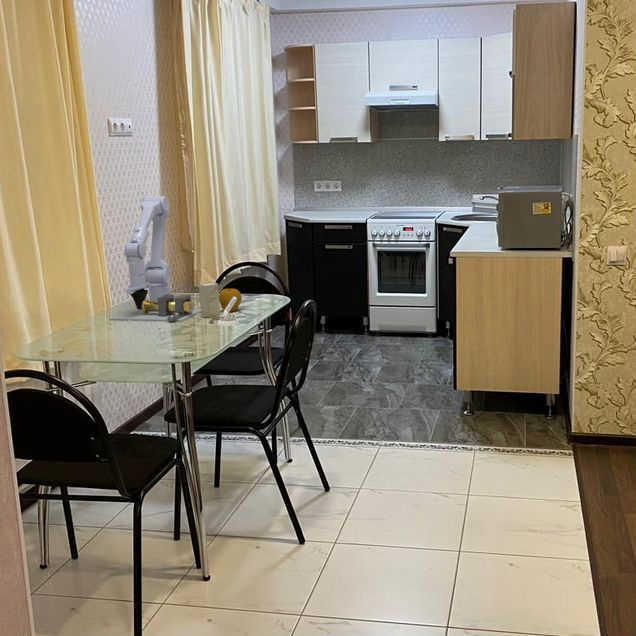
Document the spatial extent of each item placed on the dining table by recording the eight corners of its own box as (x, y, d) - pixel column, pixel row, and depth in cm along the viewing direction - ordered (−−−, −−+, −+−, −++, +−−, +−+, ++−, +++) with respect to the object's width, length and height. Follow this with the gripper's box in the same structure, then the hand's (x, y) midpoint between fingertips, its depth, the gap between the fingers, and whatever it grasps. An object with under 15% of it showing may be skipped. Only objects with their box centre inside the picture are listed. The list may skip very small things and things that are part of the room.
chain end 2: (184, 312, 315) (183, 294, 313) (191, 312, 314) (190, 294, 312) (166, 320, 301) (165, 302, 299) (174, 321, 300) (172, 302, 299)
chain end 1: (176, 308, 324) (175, 290, 322) (183, 308, 323) (182, 290, 321) (158, 316, 310) (157, 298, 308) (166, 316, 309) (164, 298, 307)
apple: (245, 308, 320) (243, 286, 318) (237, 313, 312) (236, 290, 310) (224, 308, 322) (222, 286, 320) (216, 313, 314) (214, 290, 312)
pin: (148, 311, 318) (147, 298, 317) (194, 312, 312) (193, 298, 311) (142, 314, 313) (141, 300, 312) (188, 315, 307) (187, 301, 306)
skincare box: (209, 318, 305) (206, 285, 303) (200, 317, 308) (198, 285, 305) (221, 315, 310) (218, 283, 307) (212, 314, 313) (210, 282, 310)
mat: (133, 310, 327) (132, 308, 327) (202, 311, 318) (202, 309, 318) (109, 320, 310) (109, 318, 310) (182, 321, 302) (181, 319, 301)
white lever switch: (250, 310, 289) (233, 301, 287) (232, 337, 292) (215, 328, 290) (249, 302, 296) (232, 293, 294) (232, 328, 299) (215, 319, 297)
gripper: (137, 271, 321) (140, 305, 324) (118, 277, 307) (121, 313, 310) (153, 271, 319) (156, 305, 322) (135, 277, 305) (138, 313, 308)
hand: (140, 309), depth 316 cm, fingers closed, pressing on pin
